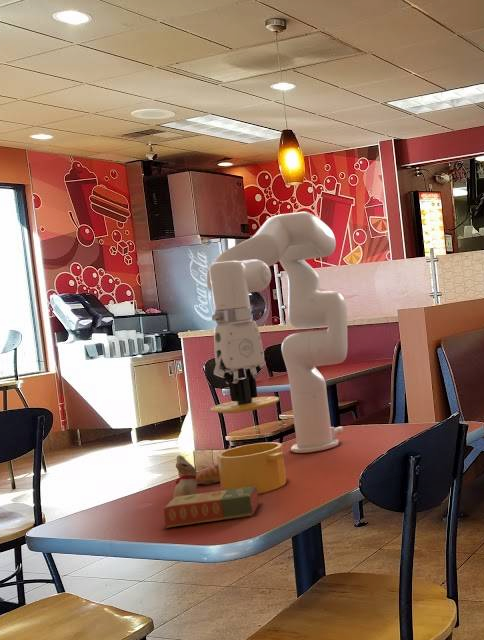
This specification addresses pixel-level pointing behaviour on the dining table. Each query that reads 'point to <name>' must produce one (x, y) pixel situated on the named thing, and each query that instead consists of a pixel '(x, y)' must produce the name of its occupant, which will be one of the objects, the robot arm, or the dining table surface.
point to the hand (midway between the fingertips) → (244, 398)
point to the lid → (245, 400)
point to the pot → (252, 467)
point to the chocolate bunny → (185, 478)
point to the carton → (211, 506)
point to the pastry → (209, 476)
